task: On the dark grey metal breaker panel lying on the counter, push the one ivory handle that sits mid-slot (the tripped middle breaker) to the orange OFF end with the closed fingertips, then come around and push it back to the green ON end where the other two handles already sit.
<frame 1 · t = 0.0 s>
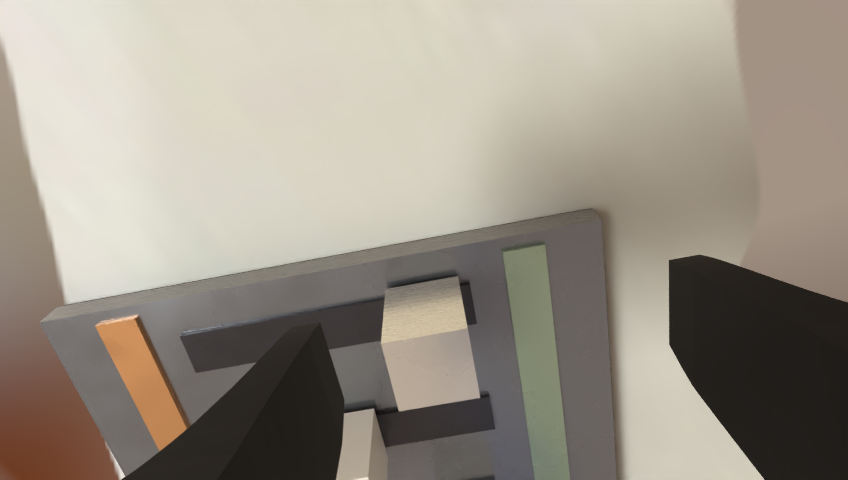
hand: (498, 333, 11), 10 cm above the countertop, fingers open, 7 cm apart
breaker panel: (363, 412, 24), on the countertop
tripped breaker: (344, 474, 21), point 3 cm above the countertop, slide at 0.5 cm
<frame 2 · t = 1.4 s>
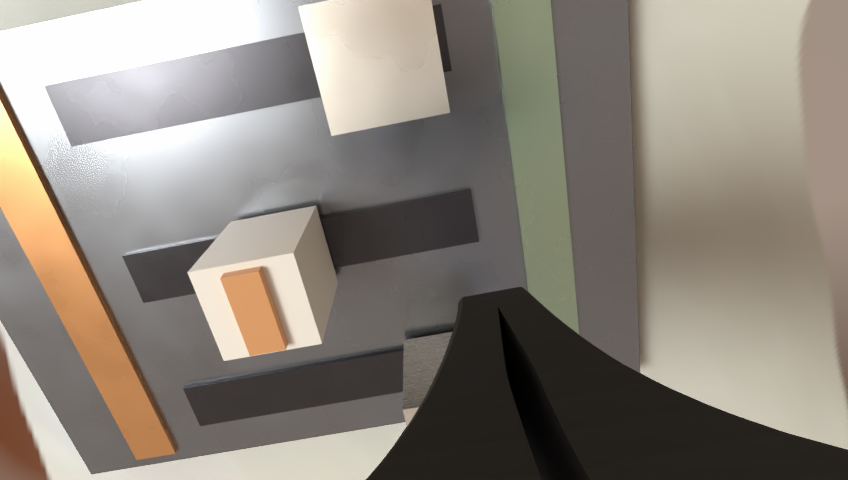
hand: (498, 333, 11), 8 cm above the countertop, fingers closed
breaker panel: (308, 232, 19), on the countertop
tripped breaker: (271, 280, 16), point 3 cm above the countertop, slide at 0.5 cm
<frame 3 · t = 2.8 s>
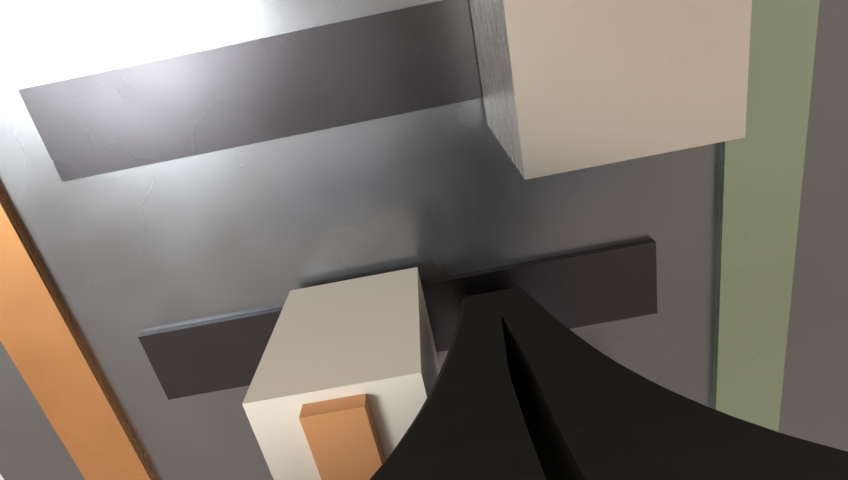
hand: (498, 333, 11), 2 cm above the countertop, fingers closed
breaker panel: (399, 294, 13), on the countertop
tripped breaker: (361, 389, 10), point 3 cm above the countertop, slide at 0.7 cm, touching gripper
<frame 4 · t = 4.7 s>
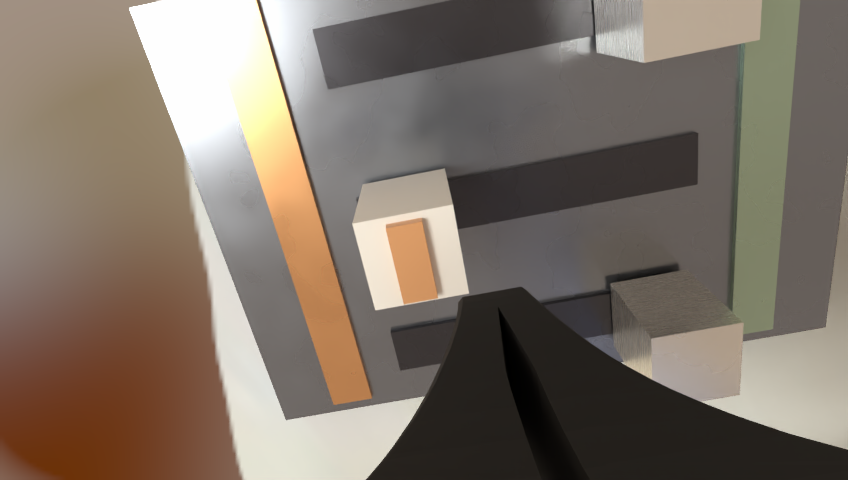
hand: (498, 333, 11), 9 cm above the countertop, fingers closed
breaker panel: (519, 179, 19), on the countertop
tripped breaker: (412, 236, 17), point 3 cm above the countertop, slide at 4.0 cm
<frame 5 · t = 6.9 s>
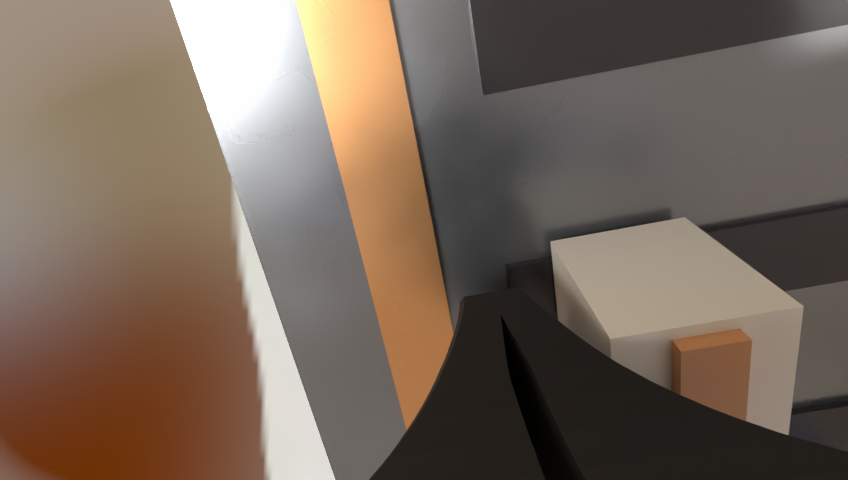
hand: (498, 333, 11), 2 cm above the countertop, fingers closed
breaker panel: (739, 232, 13), on the countertop
tripped breaker: (658, 338, 10), point 3 cm above the countertop, slide at 3.4 cm, touching gripper
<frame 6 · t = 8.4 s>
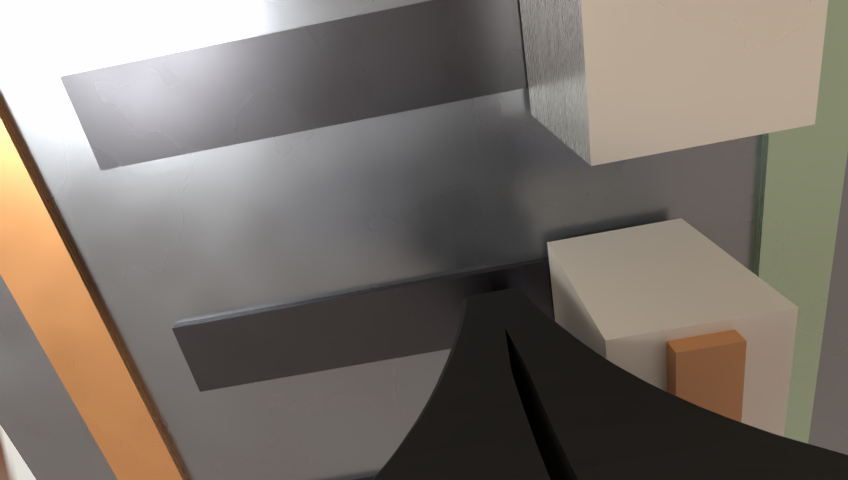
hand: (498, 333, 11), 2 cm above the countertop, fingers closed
breaker panel: (431, 287, 13), on the countertop
tripped breaker: (654, 338, 10), point 3 cm above the countertop, slide at -4.0 cm, touching gripper
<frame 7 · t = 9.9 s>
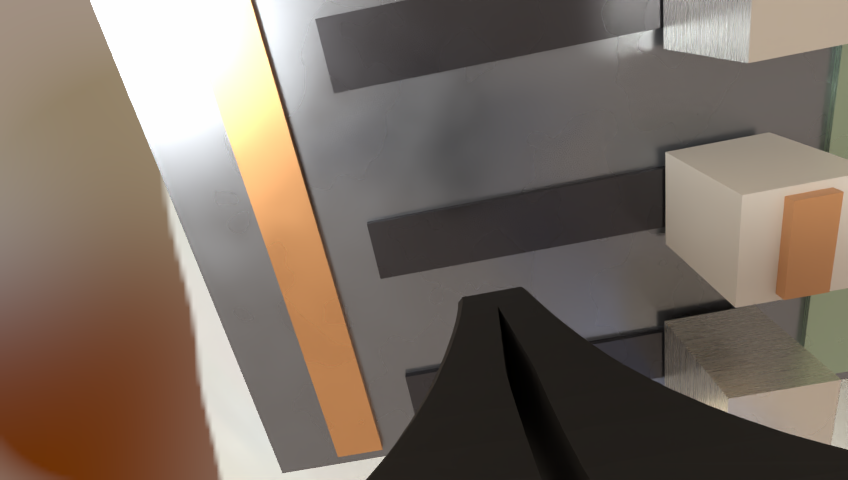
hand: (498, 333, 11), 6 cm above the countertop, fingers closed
breaker panel: (558, 199, 16), on the countertop
tripped breaker: (757, 215, 13), point 3 cm above the countertop, slide at -4.0 cm
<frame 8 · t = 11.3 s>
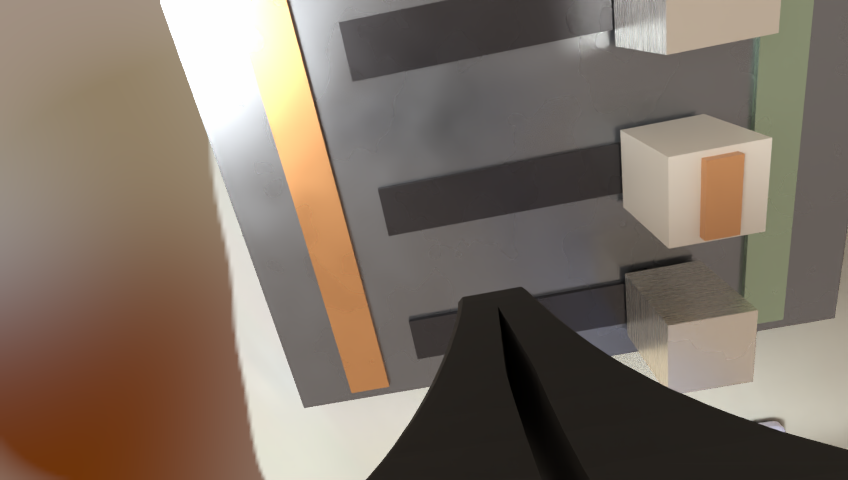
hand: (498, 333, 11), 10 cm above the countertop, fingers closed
breaker panel: (536, 171, 20), on the countertop
tripped breaker: (689, 178, 17), point 3 cm above the countertop, slide at -4.0 cm
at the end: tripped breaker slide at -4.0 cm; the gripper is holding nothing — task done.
